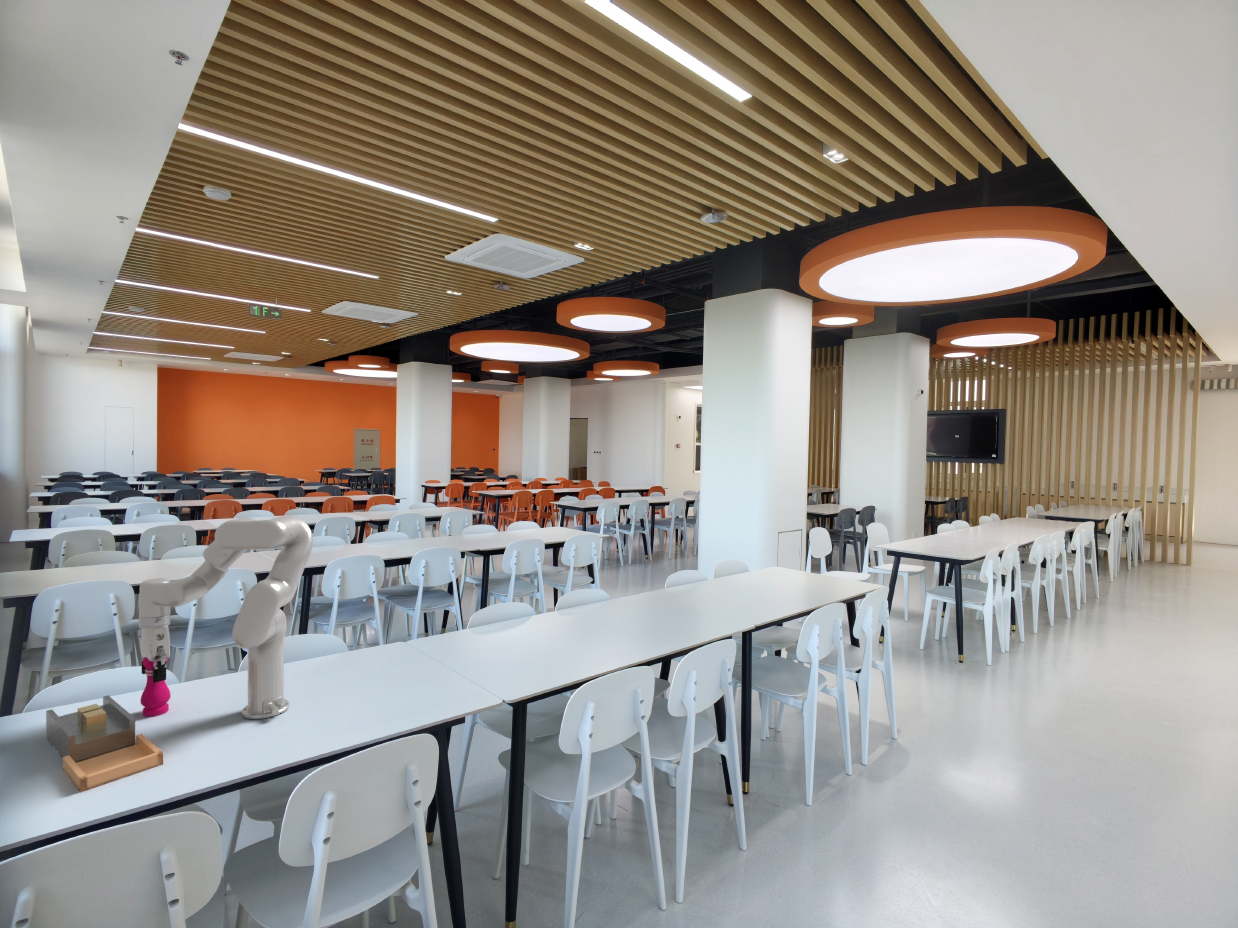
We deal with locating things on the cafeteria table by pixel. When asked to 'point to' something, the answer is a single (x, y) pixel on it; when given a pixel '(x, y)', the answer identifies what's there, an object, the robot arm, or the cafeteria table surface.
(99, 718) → the yellow wooden cube
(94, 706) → the yellow tan cube
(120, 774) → the tray
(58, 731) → the channel bed
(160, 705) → the pepper mill
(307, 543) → the robot arm
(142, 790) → the cafeteria table surface
